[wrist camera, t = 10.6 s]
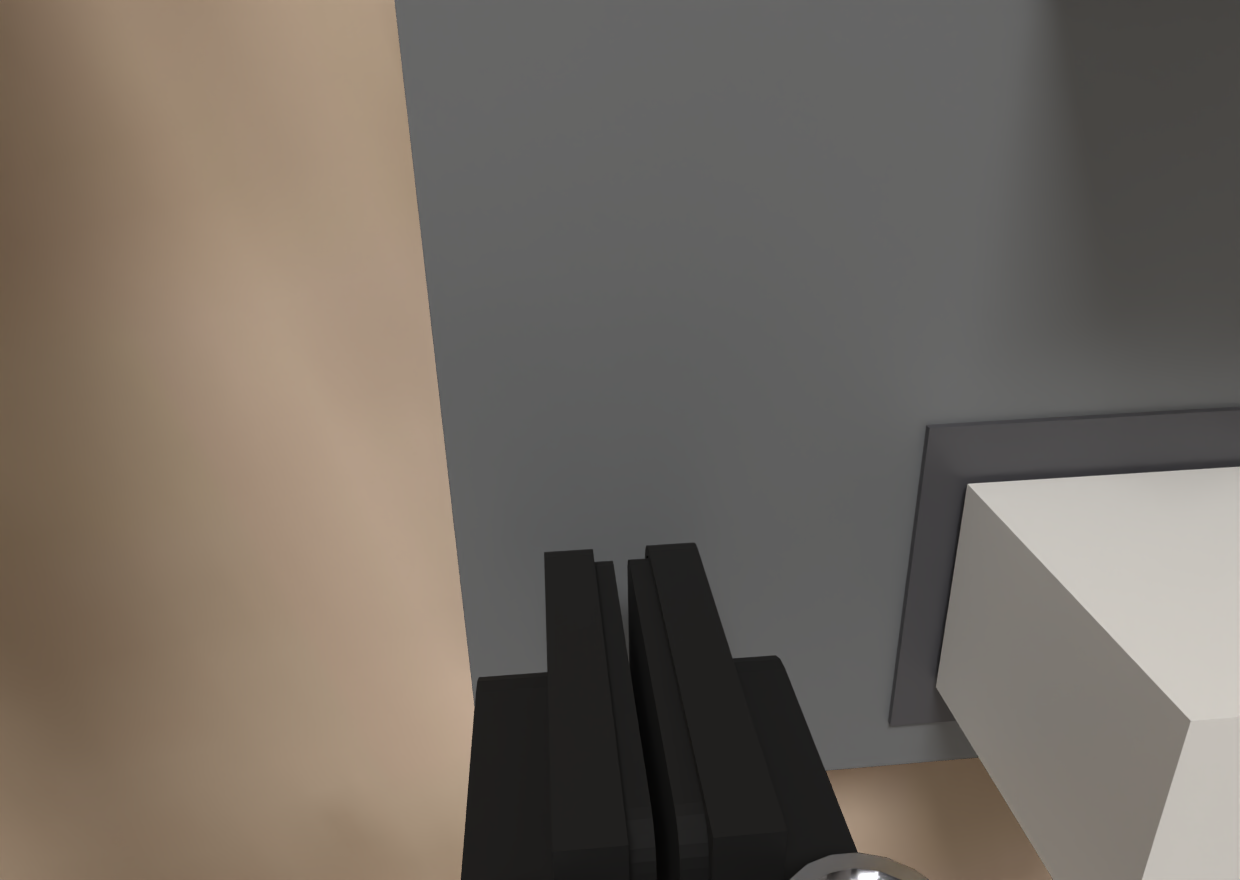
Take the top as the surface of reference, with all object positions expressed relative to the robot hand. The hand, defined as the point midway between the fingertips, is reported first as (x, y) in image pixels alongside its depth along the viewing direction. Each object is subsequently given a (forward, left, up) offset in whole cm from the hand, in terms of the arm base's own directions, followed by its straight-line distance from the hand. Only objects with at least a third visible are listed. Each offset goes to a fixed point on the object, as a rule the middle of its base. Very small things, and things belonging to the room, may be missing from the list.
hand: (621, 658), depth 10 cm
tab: (-6, 0, -1) cm, 6 cm away
